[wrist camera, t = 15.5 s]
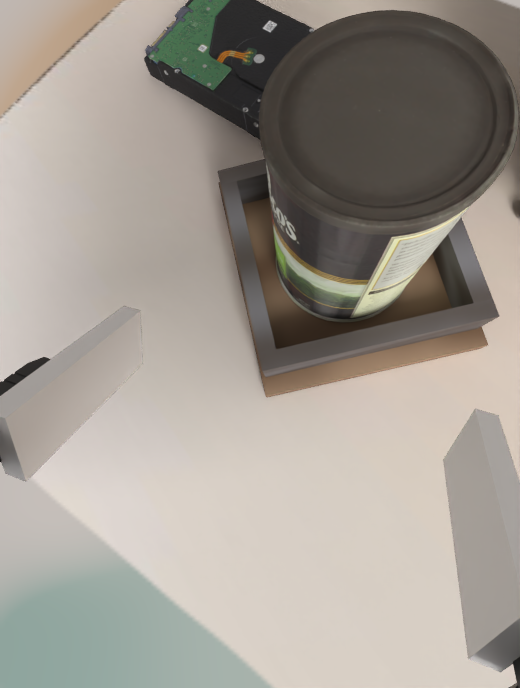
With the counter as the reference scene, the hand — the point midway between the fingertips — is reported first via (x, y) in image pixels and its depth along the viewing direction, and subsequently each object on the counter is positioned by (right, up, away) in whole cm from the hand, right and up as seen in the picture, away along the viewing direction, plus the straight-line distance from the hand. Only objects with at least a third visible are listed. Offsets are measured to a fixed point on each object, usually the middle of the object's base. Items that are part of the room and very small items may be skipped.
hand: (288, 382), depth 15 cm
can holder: (+5, +8, +15) cm, 18 cm away
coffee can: (+5, +8, +14) cm, 17 cm away
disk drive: (-3, +27, +21) cm, 34 cm away
